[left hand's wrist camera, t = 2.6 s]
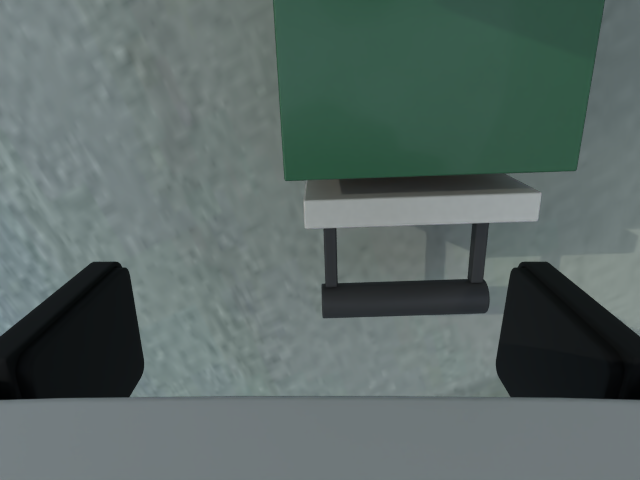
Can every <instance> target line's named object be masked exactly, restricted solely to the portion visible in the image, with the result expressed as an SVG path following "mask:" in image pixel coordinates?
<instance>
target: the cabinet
mask: <svg viewBox="0 0 640 480" xmlns="http://www.w3.org/2000/svg"><path fill="white" fill-rule="evenodd" d="M604 2H605V0H273V7H274V23H275V39H276V55H277V70H278V86H279V102H280V118H281V133H282V149H283V165H284V179H285V181H299V180H328V179H357V178H386V177H415V176H444V175H473V174H502V173H531V172H559V171H576V169H577V164H578V158H579V152H580V146H581V140H582V134H583V128H584V122H585V116H586V110H587V104H588V98H589V92H590V86H591V80H592V74H593V68H594V62H595V56H596V50H597V44H598V38H599V32H600V26H601V20H602V14H603V8H604Z"/></svg>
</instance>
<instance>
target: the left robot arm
mask: <svg viewBox="0 0 640 480" xmlns="http://www.w3.org/2000/svg"><path fill="white" fill-rule="evenodd" d="M143 370H144V358H143V352H142V346H141V340H140V333H139V327H138V321H137V315H136V309H135V303H134V297H133V291H132V285H131V279H130V274H129V271H128V269H127V268H122V266H121V264H120V263H119V262H92V263H90V264H89V265H88V266H87V267H86V268H84V269H83V270H82V271H81V272H79V273H78V274H77V275H76V276H74V277H73V278H72V279H71V280H69V281H68V282H67V283H66V284H65V285H63V286H62V287H61V288H60V289H58V290H57V291H56V292H55V293H53V294H52V295H51V296H50V297H49V298H47V299H46V300H45V301H44V302H42V303H41V304H40V305H39V306H37V307H36V308H35V309H34V310H32V311H31V312H30V313H29V314H28V315H26V316H25V317H24V318H23V319H21V320H20V321H19V322H18V323H16V324H15V325H14V326H13V327H11V328H10V329H9V330H8V331H7V332H5V333H4V334H3V335H2V336H0V480H640V336H638V335H637V334H636V333H635V332H633V331H632V330H631V329H630V328H629V327H627V326H626V325H625V324H624V323H622V322H621V321H620V320H619V319H617V318H616V317H615V316H614V315H612V314H611V313H610V312H609V311H608V310H606V309H605V308H604V307H603V306H601V305H600V304H599V303H598V302H596V301H595V300H594V299H593V298H591V297H590V296H589V295H588V294H587V293H585V292H584V291H583V290H582V289H580V288H579V287H578V286H577V285H575V284H574V283H573V282H572V281H571V280H569V279H568V278H567V277H566V276H564V275H563V274H562V273H561V272H559V271H558V270H557V269H556V268H554V267H553V266H552V265H551V264H550V263H548V262H521V263H520V264H519V266H518V268H513V269H512V271H511V274H510V279H509V285H508V291H507V297H506V303H505V309H504V315H503V321H502V327H501V333H500V340H499V346H498V352H497V358H496V370H497V374H498V376H499V378H500V380H501V382H502V383H503V385H504V387H505V388H506V390H507V392H508V393H509V395H510V397H408V396H214V397H130V395H131V393H132V392H133V390H134V388H135V387H136V385H137V383H138V382H139V380H140V378H141V376H142V374H143Z"/></svg>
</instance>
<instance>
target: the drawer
mask: <svg viewBox="0 0 640 480" xmlns="http://www.w3.org/2000/svg"><path fill="white" fill-rule="evenodd" d="M541 197H542V193H541V192H539V191H537V190H535V189H533V188H531V187H530V186H528V185H526V184H524V183H522V182H520V181H518V180H516V179H514V178H512V177H510V176H508V175H506V174H504V173H502V174H473V175H444V176H415V177H386V178H357V179H328V180H306V186H305V194H304V202H303V203H304V223H305V228H306V229H321V228H324V254H325V284H322V315H323V318H347V317H379V316H412V315H444V314H476V313H486V312H487V311H488V308H489V300H490V298H489V290H488V286H487V284H486V282H485V280H483V276H484V266H485V256H486V246H487V237H488V227H489V223H501V222H530V221H538V218H539V211H540V204H541ZM471 223H472V234H471V246H470V257H469V268H468V279H457V280H426V281H395V282H364V283H338V281H337V238H336V228H351V227H381V226H411V225H441V224H471Z"/></svg>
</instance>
